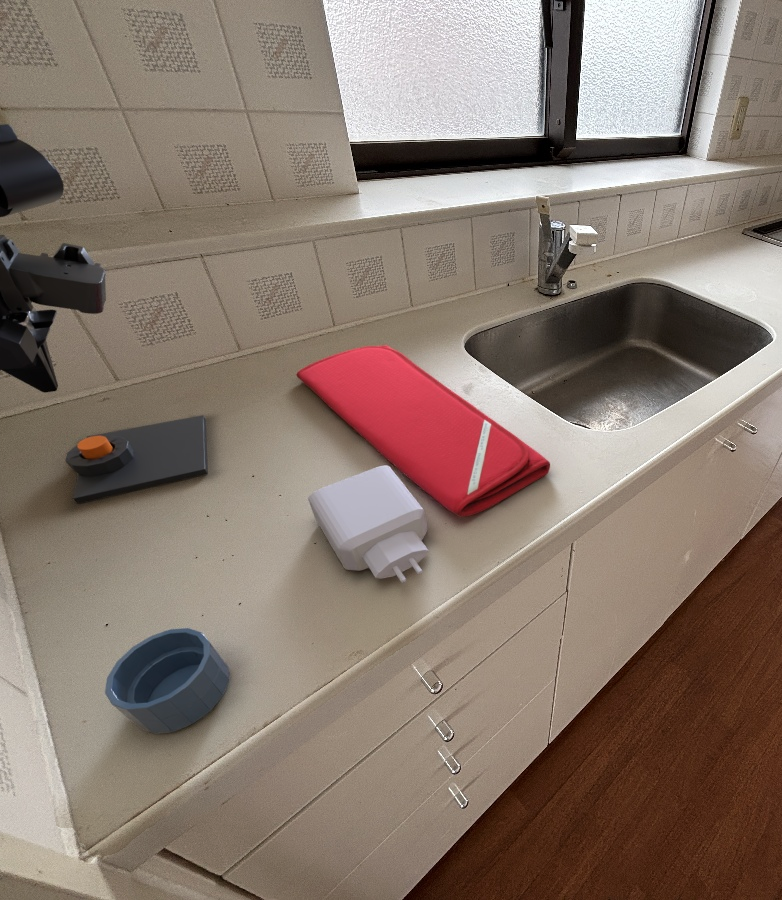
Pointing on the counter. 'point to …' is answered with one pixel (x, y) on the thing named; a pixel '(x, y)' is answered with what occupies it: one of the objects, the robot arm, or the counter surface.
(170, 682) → the bowl
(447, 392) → the dish drying mat
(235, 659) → the counter surface
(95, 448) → the tare button
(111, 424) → the counter surface
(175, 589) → the counter surface
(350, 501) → the charger
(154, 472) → the scale
